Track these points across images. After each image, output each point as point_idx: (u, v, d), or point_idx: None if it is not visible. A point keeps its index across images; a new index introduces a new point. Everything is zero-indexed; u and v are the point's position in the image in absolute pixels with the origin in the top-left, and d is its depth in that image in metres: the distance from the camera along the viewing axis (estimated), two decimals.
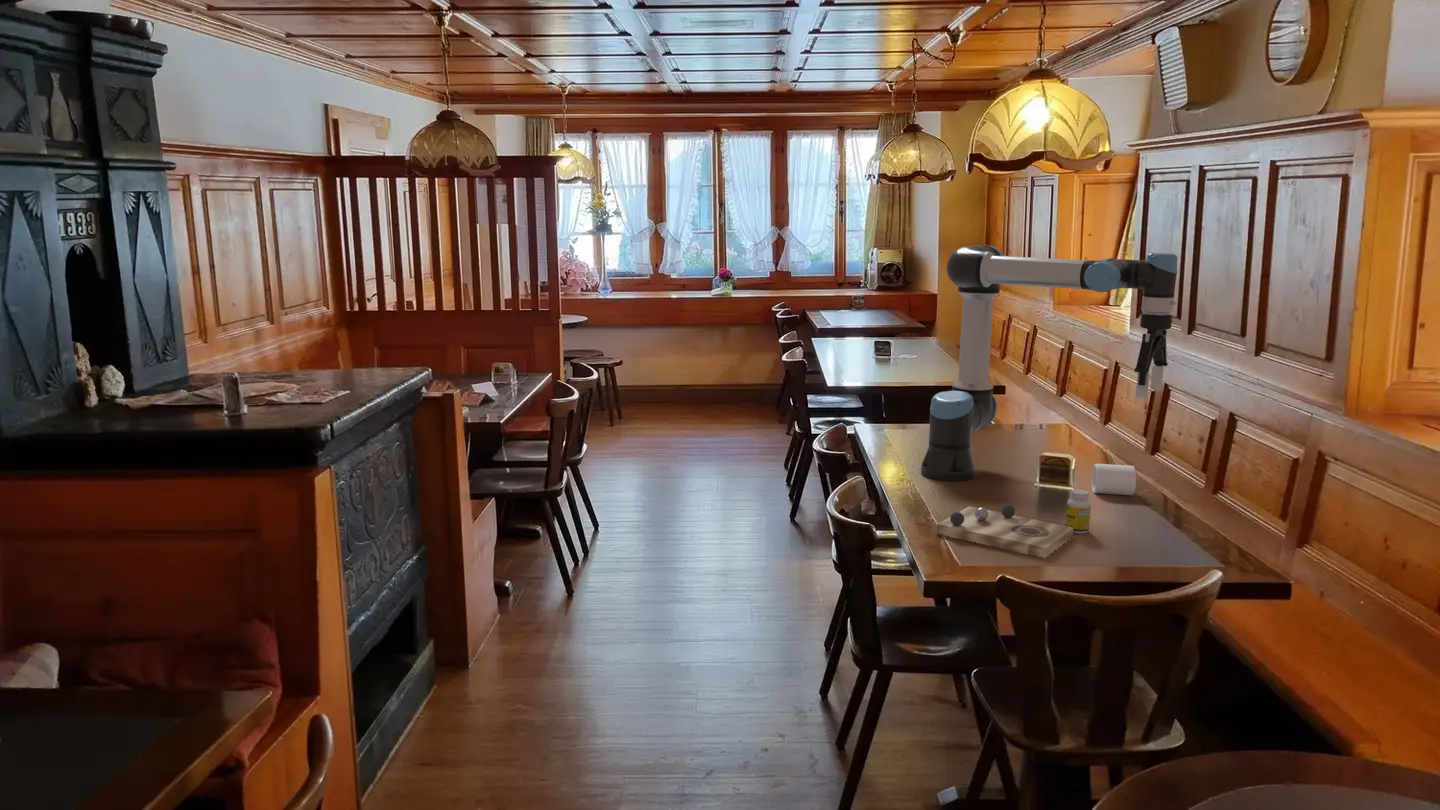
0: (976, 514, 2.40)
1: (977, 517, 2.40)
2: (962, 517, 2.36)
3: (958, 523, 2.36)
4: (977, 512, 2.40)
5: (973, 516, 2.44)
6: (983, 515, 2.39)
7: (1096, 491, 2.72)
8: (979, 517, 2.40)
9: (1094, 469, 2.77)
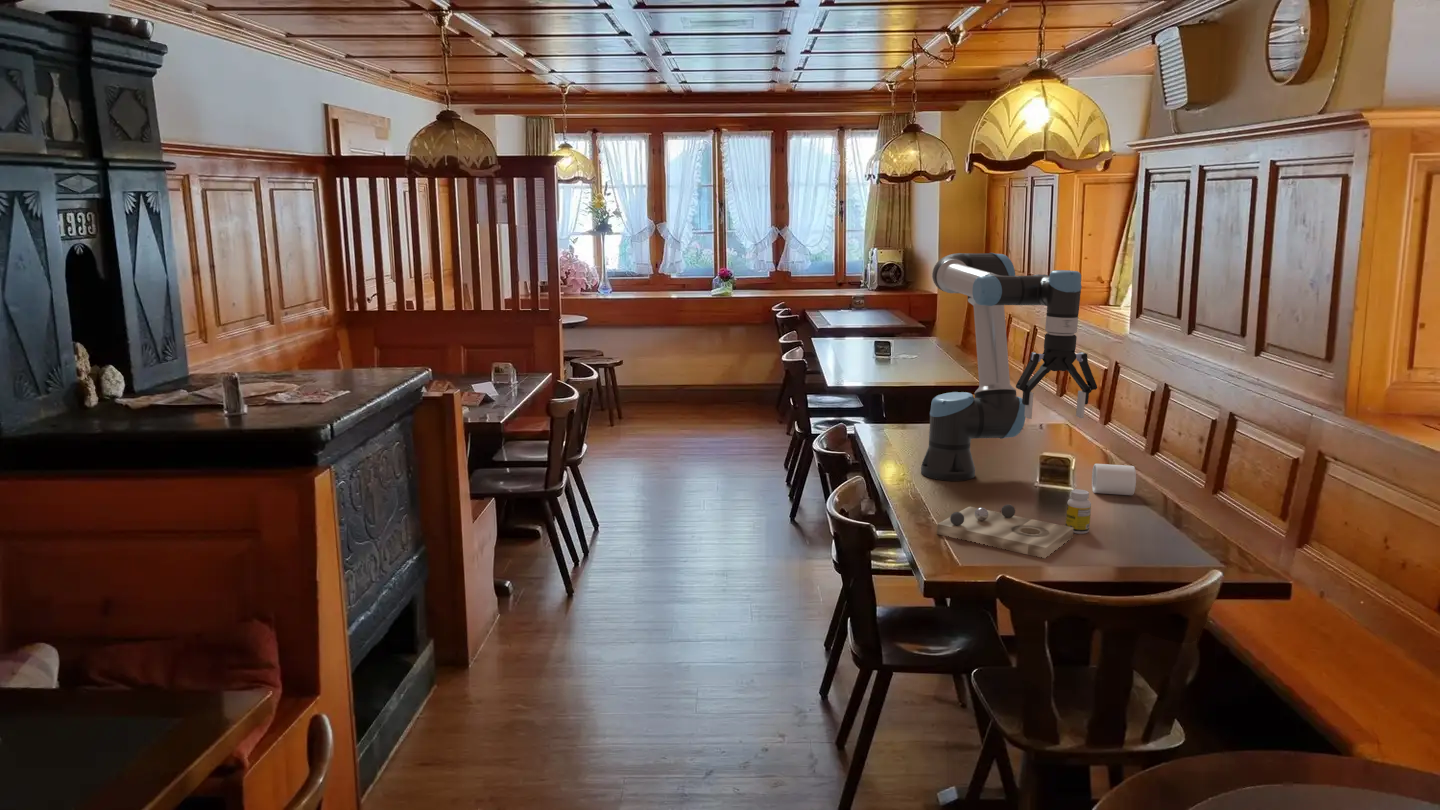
0: (976, 514, 2.40)
1: (977, 517, 2.40)
2: (962, 517, 2.36)
3: (958, 523, 2.36)
4: (977, 512, 2.40)
5: (973, 516, 2.44)
6: (983, 515, 2.39)
7: (1096, 491, 2.72)
8: (979, 517, 2.40)
9: (1094, 469, 2.77)
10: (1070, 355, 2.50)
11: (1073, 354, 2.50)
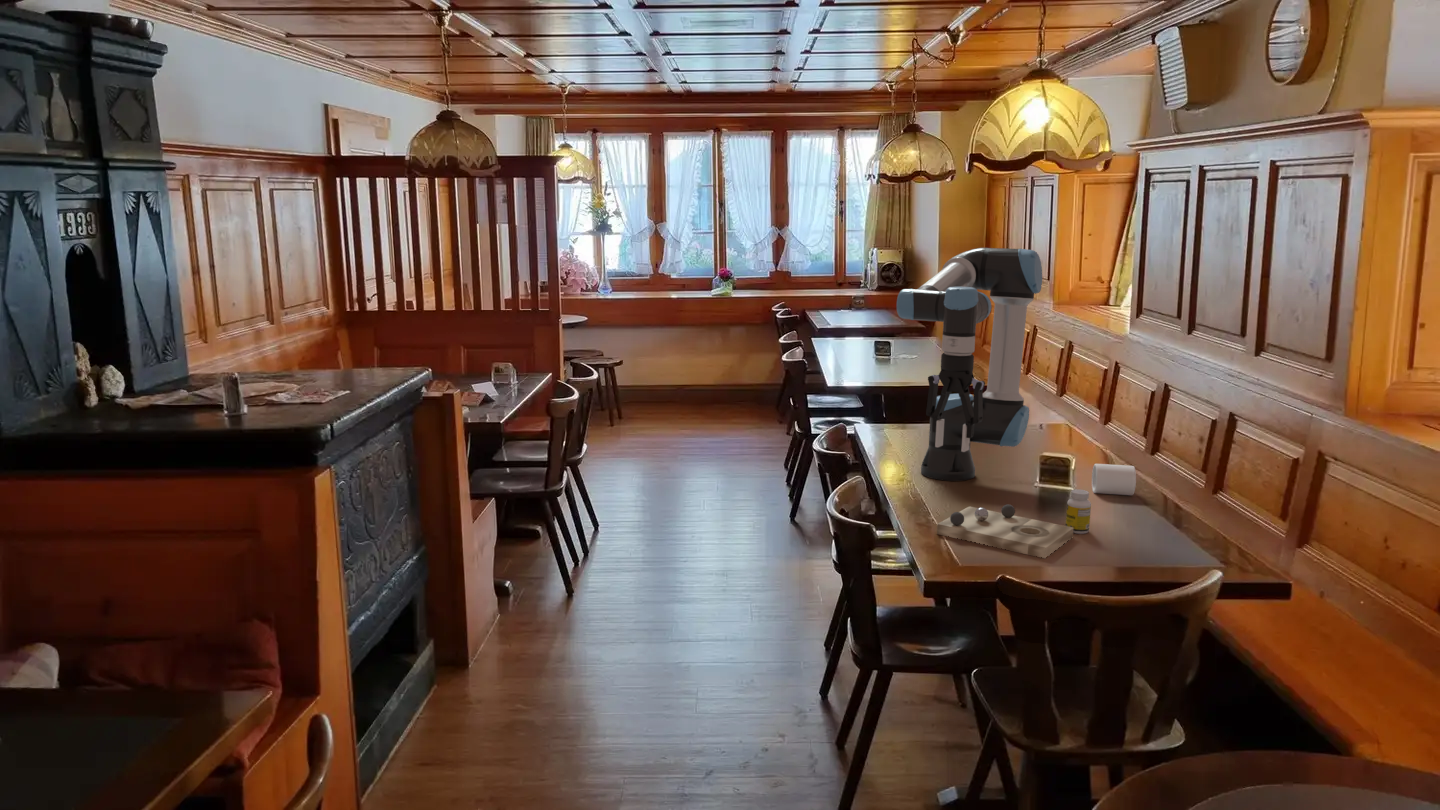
0: (976, 514, 2.40)
1: (977, 517, 2.40)
2: (962, 517, 2.36)
3: (958, 523, 2.36)
4: (977, 512, 2.40)
5: (973, 516, 2.44)
6: (983, 515, 2.39)
7: (1096, 491, 2.72)
8: (979, 517, 2.40)
9: (1094, 469, 2.77)
10: (965, 376, 2.37)
11: (968, 377, 2.36)
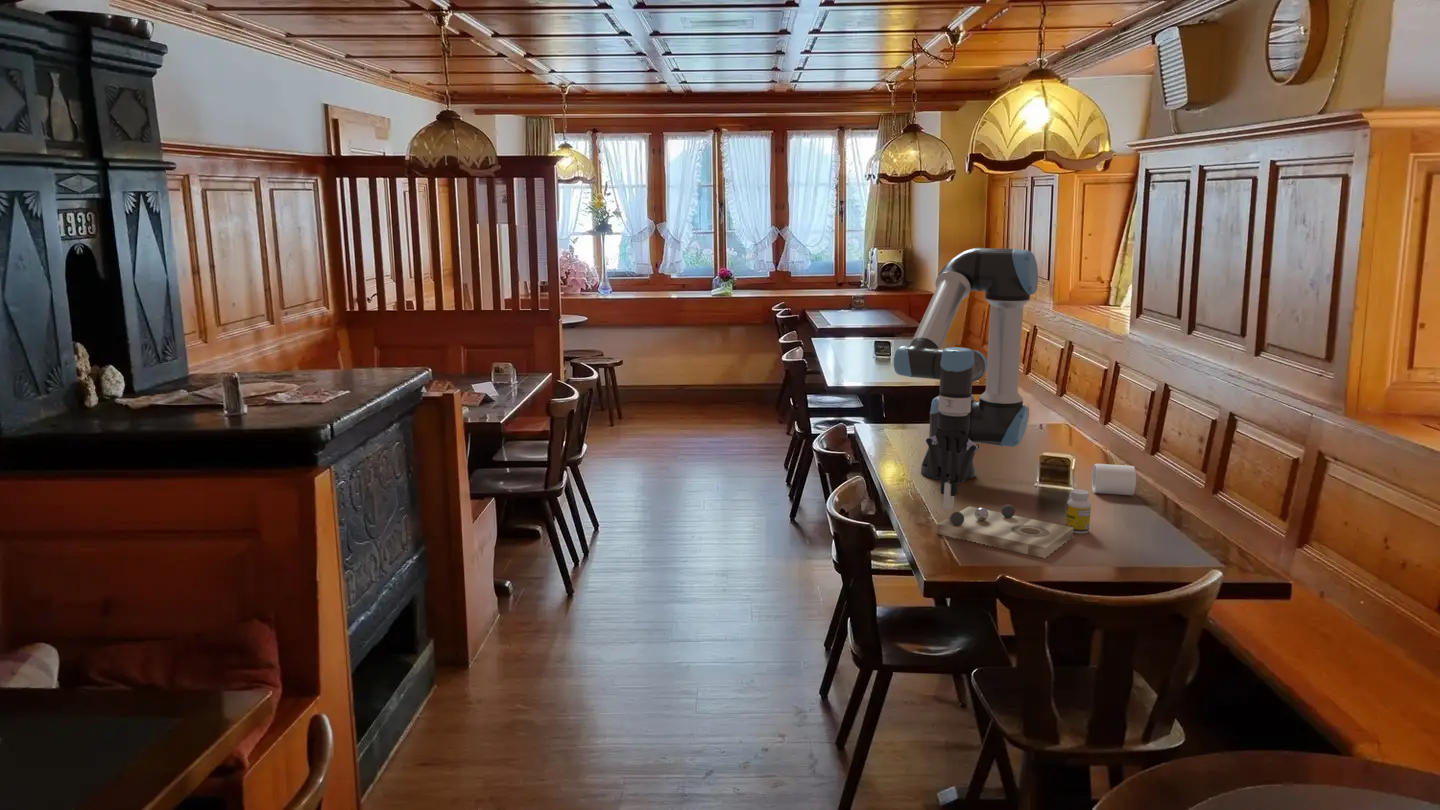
0: (976, 514, 2.40)
1: (977, 517, 2.40)
2: (962, 517, 2.36)
3: (958, 523, 2.36)
4: (977, 512, 2.40)
5: (973, 516, 2.44)
6: (983, 515, 2.39)
7: (1096, 491, 2.72)
8: (979, 517, 2.40)
9: (1094, 469, 2.77)
10: (962, 436, 2.40)
11: (965, 437, 2.39)
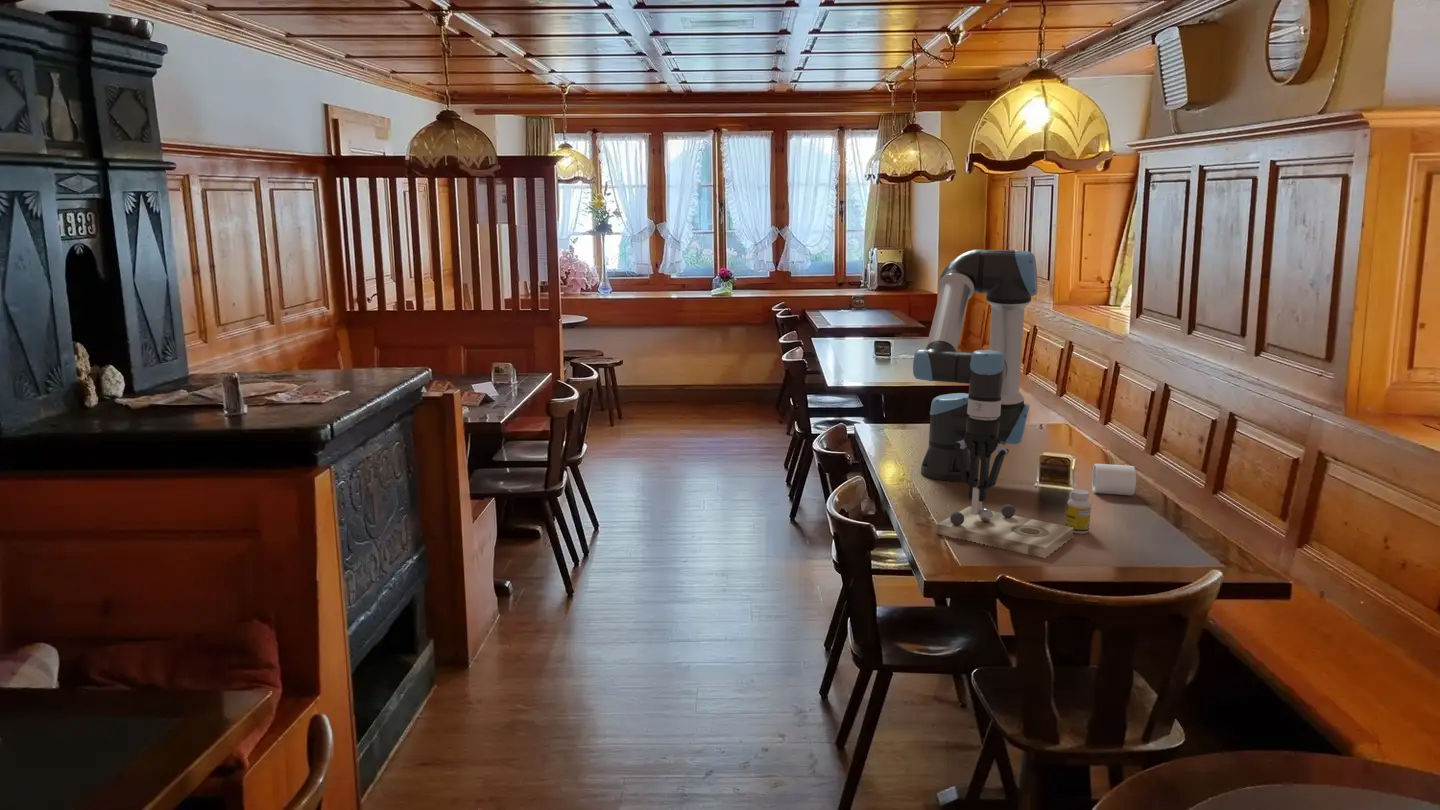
0: (981, 514, 2.39)
1: (980, 516, 2.39)
2: (962, 517, 2.36)
3: (958, 523, 2.36)
4: (983, 513, 2.39)
5: (973, 516, 2.44)
6: (987, 519, 2.39)
7: (1096, 491, 2.72)
8: (982, 518, 2.39)
9: (1094, 469, 2.77)
10: (991, 440, 2.35)
11: (994, 442, 2.35)
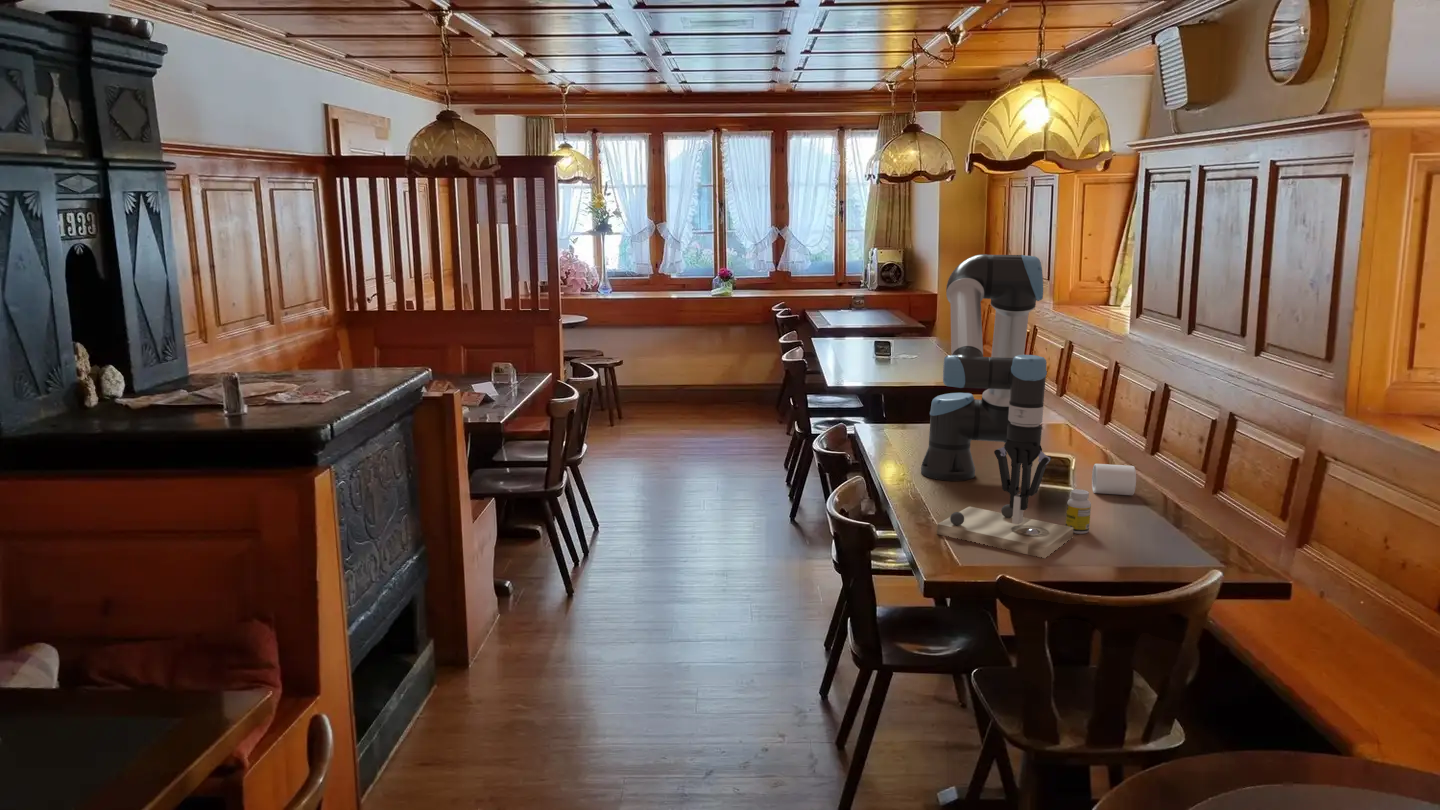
0: None
1: None
2: (962, 517, 2.36)
3: (958, 523, 2.36)
4: None
5: (973, 516, 2.44)
6: None
7: (1096, 491, 2.72)
8: None
9: (1094, 469, 2.77)
10: (1033, 447, 2.29)
11: (1036, 449, 2.29)
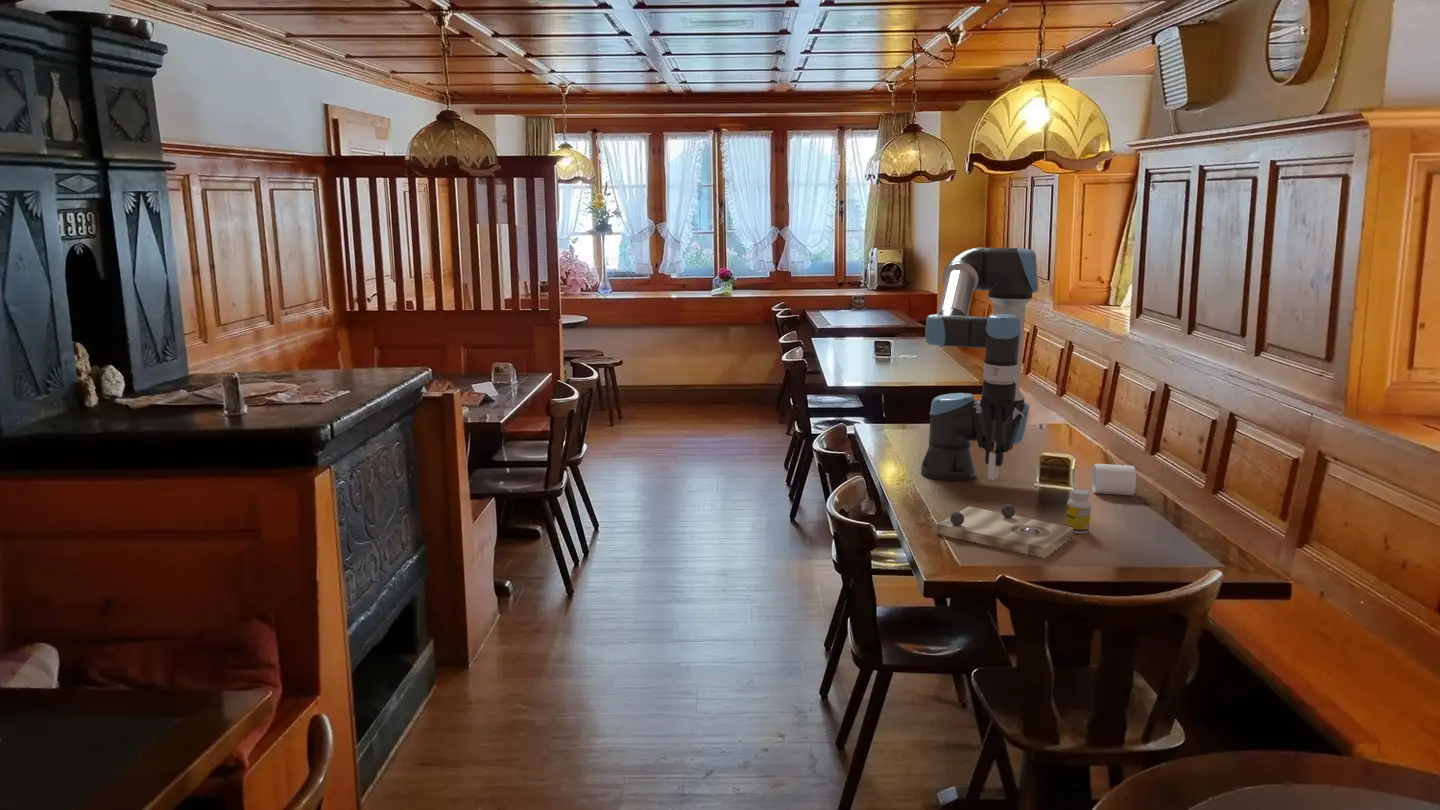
0: None
1: None
2: (962, 517, 2.36)
3: (958, 523, 2.36)
4: None
5: (973, 516, 2.44)
6: None
7: (1096, 491, 2.72)
8: None
9: (1094, 469, 2.77)
10: (1008, 404, 2.34)
11: (1011, 406, 2.34)
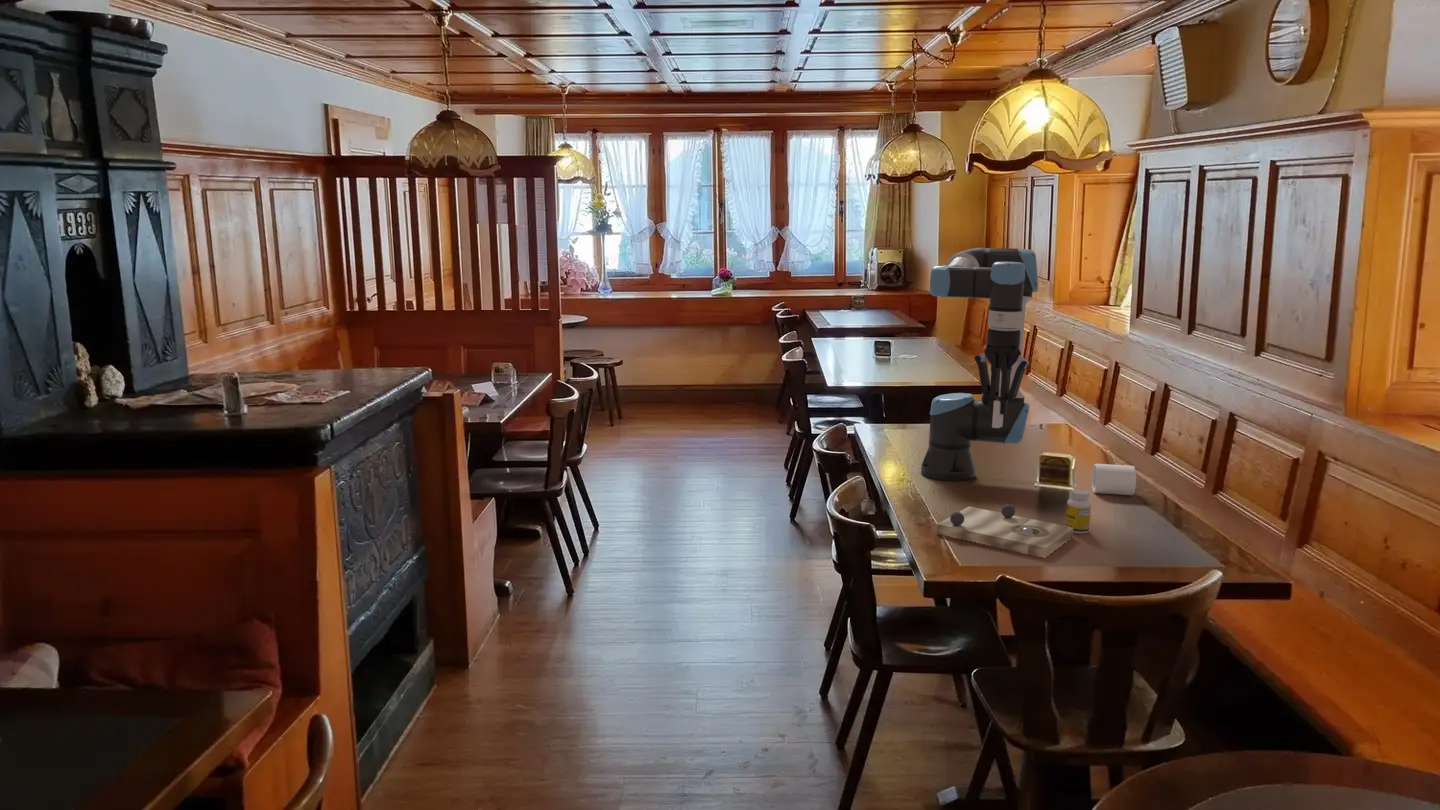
0: None
1: None
2: (962, 517, 2.36)
3: (958, 523, 2.36)
4: None
5: (973, 516, 2.44)
6: None
7: (1096, 491, 2.72)
8: None
9: (1094, 469, 2.77)
10: (1012, 351, 2.35)
11: (1015, 353, 2.35)
